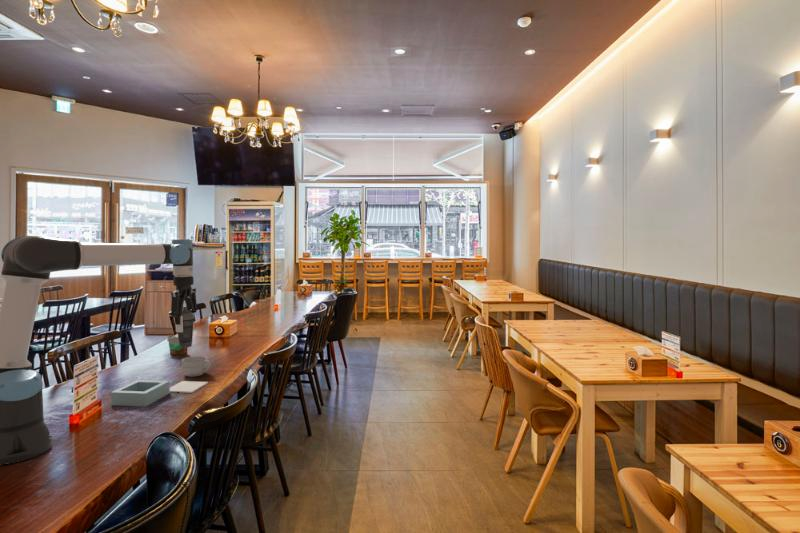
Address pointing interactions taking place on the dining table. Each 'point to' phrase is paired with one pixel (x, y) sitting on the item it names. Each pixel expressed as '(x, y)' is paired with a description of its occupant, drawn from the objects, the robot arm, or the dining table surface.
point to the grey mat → (187, 386)
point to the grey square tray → (140, 393)
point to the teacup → (195, 365)
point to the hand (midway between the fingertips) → (185, 329)
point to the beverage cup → (186, 329)
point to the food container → (175, 346)
